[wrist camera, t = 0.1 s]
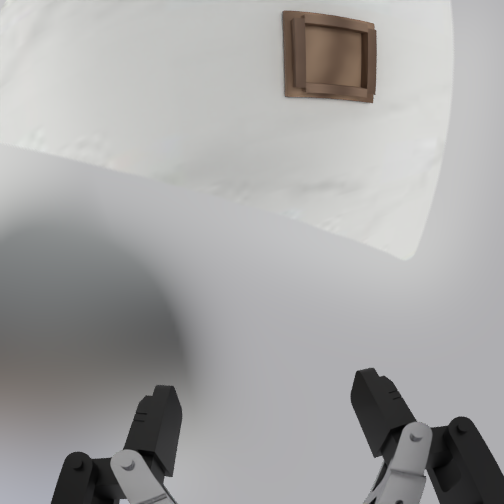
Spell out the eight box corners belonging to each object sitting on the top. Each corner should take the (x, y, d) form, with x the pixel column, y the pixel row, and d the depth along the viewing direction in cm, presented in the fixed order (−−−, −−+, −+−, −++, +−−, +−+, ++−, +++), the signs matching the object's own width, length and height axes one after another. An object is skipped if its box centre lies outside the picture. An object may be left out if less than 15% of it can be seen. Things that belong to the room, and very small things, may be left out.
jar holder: (285, 95, 30) (289, 98, 28) (282, 12, 23) (286, 7, 20) (369, 101, 30) (379, 105, 28) (370, 24, 23) (381, 22, 21)
